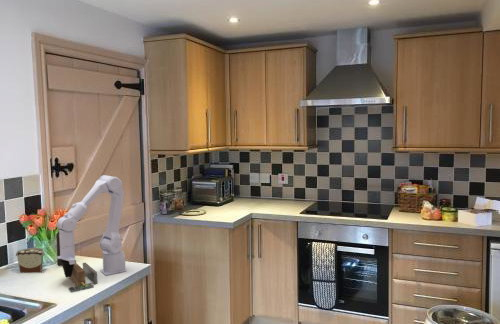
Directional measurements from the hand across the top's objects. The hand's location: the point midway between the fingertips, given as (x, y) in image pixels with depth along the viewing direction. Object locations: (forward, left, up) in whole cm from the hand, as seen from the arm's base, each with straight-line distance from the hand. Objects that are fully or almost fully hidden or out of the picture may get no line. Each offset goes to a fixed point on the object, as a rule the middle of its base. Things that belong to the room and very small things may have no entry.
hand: (68, 276), depth 180 cm
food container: (+9, -26, -3) cm, 28 cm away
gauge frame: (-4, +2, -3) cm, 5 cm away
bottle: (-5, -27, -3) cm, 28 cm away
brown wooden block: (-3, +2, -3) cm, 5 cm away
